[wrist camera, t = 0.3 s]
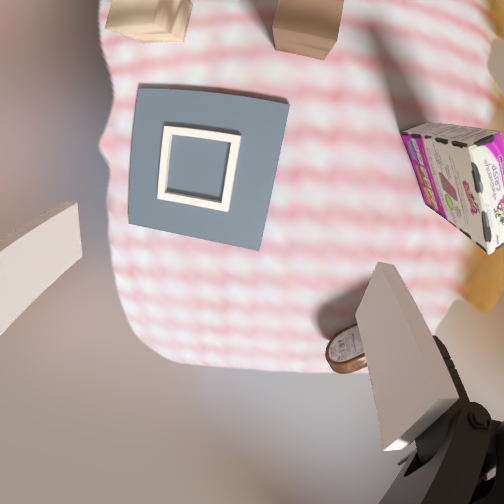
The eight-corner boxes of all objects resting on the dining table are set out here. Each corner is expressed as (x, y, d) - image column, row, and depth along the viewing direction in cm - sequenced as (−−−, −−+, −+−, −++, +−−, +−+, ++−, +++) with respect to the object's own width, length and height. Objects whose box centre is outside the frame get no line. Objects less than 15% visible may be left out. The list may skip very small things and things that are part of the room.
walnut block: (283, 11, 26) (282, -21, 17) (330, 21, 26) (345, -8, 17) (275, 50, 29) (271, 26, 20) (323, 60, 29) (336, 40, 20)
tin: (328, 347, 48) (332, 383, 41) (321, 336, 47) (324, 373, 40) (404, 310, 43) (420, 344, 36) (400, 298, 42) (416, 331, 35)
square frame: (166, 125, 33) (164, 126, 33) (241, 135, 33) (240, 135, 33) (159, 197, 38) (157, 198, 37) (229, 210, 38) (228, 212, 37)
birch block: (153, 7, 26) (117, -15, 17) (192, 5, 26) (164, -23, 17) (144, 43, 29) (104, 28, 20) (184, 42, 29) (151, 22, 20)
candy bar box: (450, 192, 33) (519, 238, 19) (424, 205, 35) (487, 258, 20) (426, 119, 30) (503, 130, 15) (398, 131, 31) (467, 146, 17)
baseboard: (141, 88, 32) (138, 88, 31) (289, 105, 32) (289, 104, 31) (131, 221, 41) (128, 223, 40) (259, 247, 41) (259, 251, 40)
